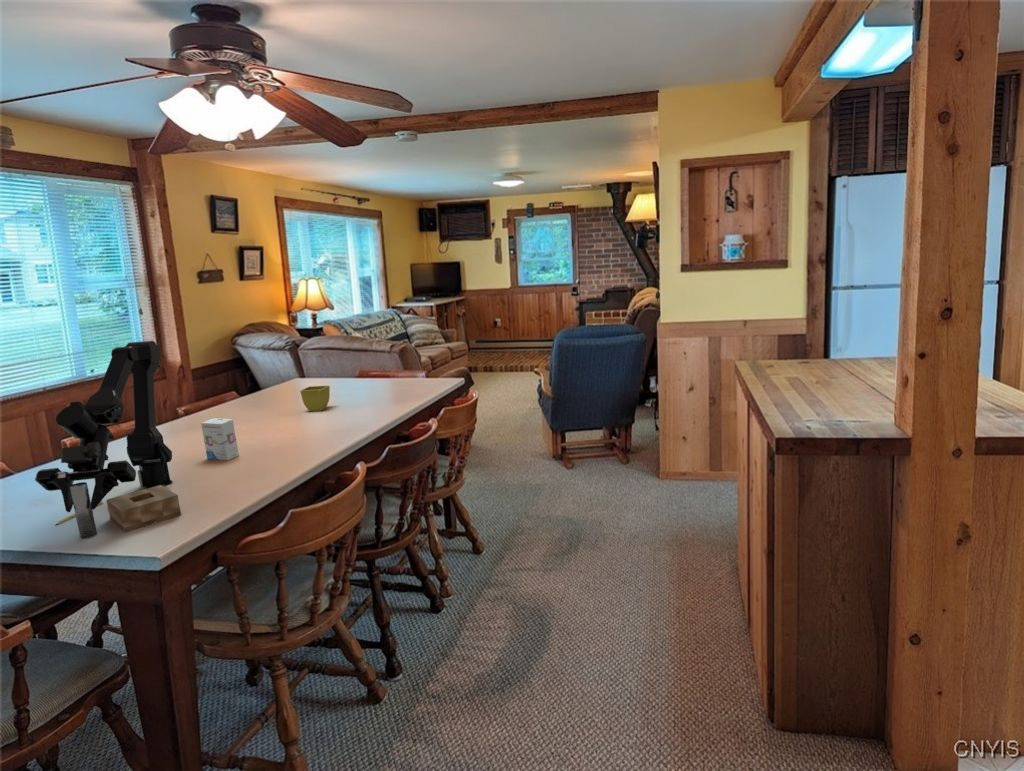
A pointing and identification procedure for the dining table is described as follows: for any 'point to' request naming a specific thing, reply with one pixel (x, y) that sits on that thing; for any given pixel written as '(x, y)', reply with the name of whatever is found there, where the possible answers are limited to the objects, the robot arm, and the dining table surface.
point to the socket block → (143, 507)
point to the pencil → (72, 516)
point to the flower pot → (315, 397)
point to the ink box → (220, 439)
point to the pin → (83, 510)
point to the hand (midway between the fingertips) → (80, 510)
